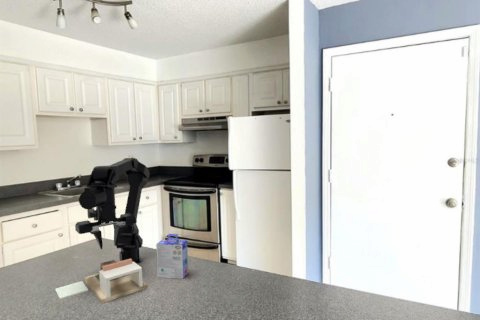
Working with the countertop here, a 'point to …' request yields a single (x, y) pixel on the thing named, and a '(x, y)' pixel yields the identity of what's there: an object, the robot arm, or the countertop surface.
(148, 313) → the countertop surface
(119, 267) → the panel
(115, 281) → the puzzle board
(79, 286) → the coaster pad
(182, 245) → the ink cartridge box
